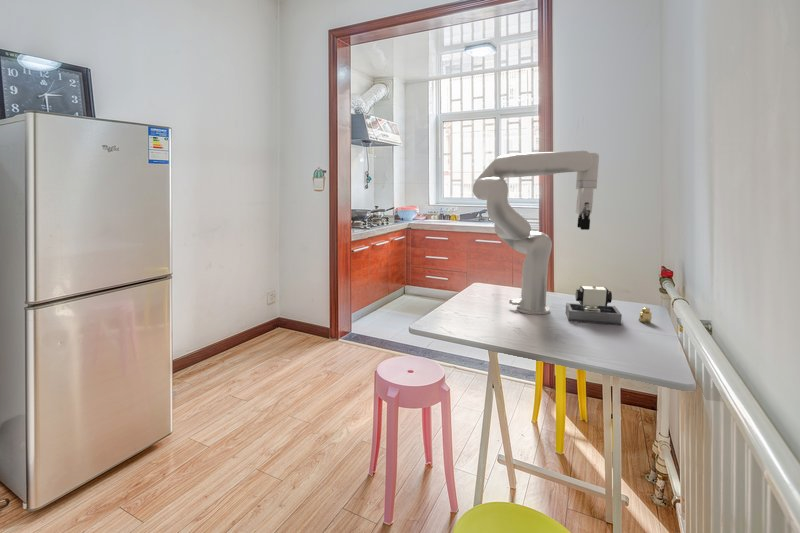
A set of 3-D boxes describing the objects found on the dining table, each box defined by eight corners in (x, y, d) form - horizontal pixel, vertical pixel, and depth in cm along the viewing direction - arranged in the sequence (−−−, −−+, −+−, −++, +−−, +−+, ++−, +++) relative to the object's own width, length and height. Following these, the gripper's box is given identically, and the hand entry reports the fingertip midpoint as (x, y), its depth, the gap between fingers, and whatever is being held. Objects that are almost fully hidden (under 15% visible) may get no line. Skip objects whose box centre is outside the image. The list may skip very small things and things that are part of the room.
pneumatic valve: (610, 319, 153) (613, 287, 151) (575, 317, 156) (578, 285, 154) (606, 314, 158) (609, 283, 156) (573, 312, 161) (575, 282, 159)
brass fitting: (640, 323, 152) (642, 309, 151) (638, 320, 155) (639, 306, 154) (651, 324, 151) (653, 310, 150) (648, 321, 154) (650, 307, 153)
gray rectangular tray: (568, 321, 154) (569, 310, 153) (565, 311, 166) (565, 301, 166) (620, 325, 149) (621, 314, 148) (613, 314, 162) (614, 304, 161)
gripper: (573, 185, 175) (570, 226, 178) (578, 185, 158) (575, 230, 161) (593, 185, 173) (590, 226, 176) (600, 184, 156) (596, 230, 159)
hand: (583, 228), depth 168 cm, fingers open, 9 cm apart
